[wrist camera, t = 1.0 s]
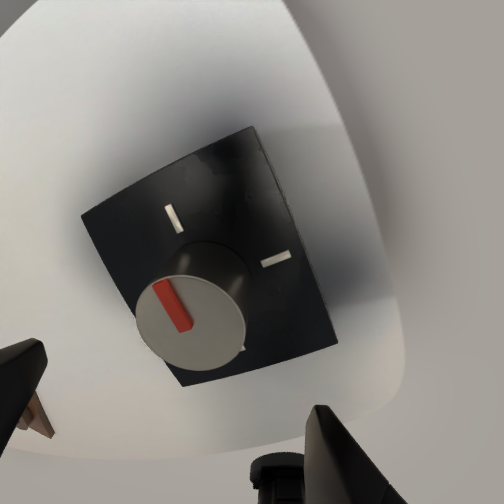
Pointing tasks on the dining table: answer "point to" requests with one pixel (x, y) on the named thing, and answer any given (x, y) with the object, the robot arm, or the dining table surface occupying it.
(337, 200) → the dining table surface
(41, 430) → the button block
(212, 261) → the knob
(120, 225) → the panel
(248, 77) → the dining table surface
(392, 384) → the dining table surface
